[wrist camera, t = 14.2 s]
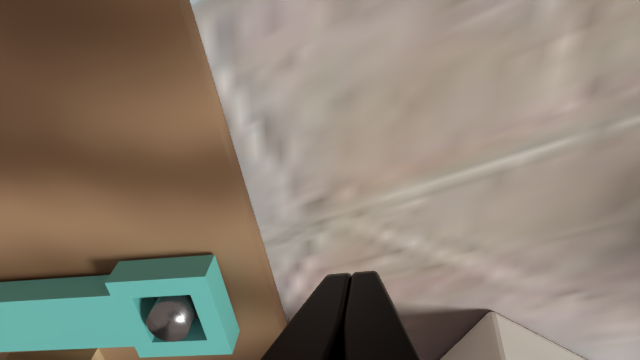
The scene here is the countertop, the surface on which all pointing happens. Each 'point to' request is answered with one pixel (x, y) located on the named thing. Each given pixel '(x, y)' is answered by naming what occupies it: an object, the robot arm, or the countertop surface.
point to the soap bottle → (505, 343)
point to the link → (119, 309)
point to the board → (122, 158)
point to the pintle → (171, 317)
